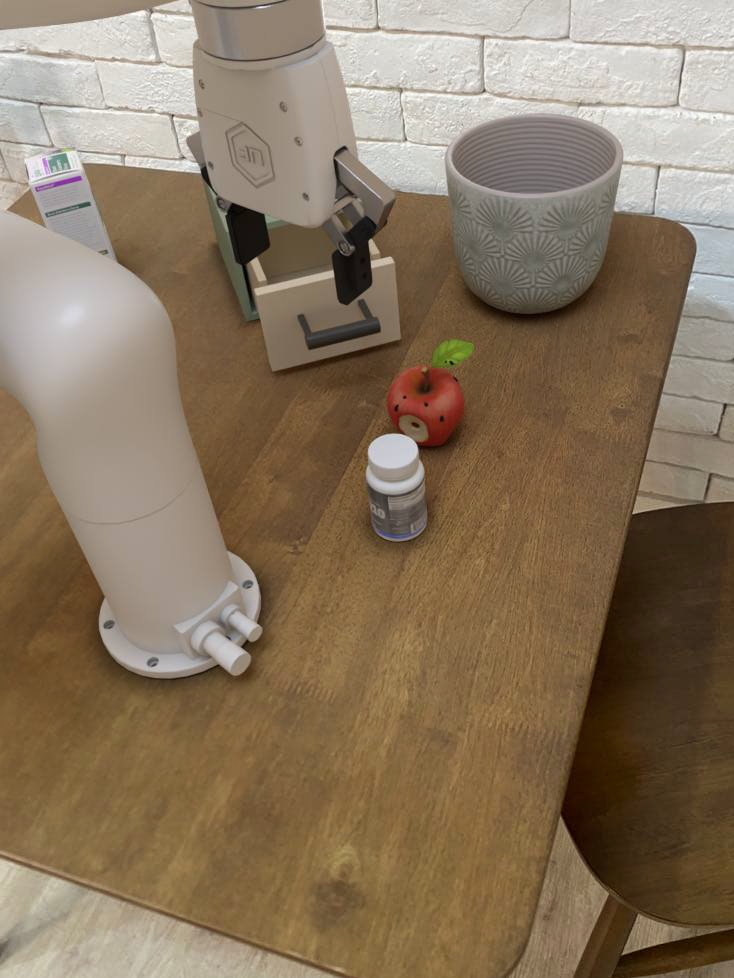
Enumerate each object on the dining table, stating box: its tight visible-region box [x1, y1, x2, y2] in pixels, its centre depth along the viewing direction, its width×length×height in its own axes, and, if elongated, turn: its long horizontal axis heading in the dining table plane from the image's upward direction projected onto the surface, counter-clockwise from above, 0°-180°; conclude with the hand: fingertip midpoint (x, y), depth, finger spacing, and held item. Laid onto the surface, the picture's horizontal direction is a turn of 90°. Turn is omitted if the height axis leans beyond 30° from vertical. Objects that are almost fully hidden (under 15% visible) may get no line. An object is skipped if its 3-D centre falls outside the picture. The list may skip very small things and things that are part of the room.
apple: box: [386, 338, 475, 447], centre depth 83 cm, size 8×7×10 cm
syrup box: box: [23, 147, 118, 263], centre depth 102 cm, size 6×6×14 cm
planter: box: [444, 112, 625, 315], centre depth 95 cm, size 17×17×15 cm
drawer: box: [243, 212, 402, 372], centre depth 94 cm, size 20×13×9 cm, turn 18°
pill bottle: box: [365, 433, 428, 542], centre depth 76 cm, size 5×5×8 cm
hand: (303, 274), depth 67 cm, fingers open, 9 cm apart
